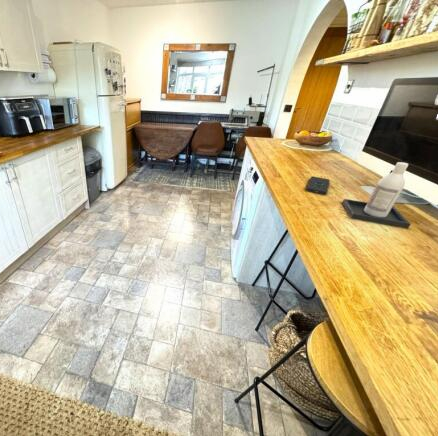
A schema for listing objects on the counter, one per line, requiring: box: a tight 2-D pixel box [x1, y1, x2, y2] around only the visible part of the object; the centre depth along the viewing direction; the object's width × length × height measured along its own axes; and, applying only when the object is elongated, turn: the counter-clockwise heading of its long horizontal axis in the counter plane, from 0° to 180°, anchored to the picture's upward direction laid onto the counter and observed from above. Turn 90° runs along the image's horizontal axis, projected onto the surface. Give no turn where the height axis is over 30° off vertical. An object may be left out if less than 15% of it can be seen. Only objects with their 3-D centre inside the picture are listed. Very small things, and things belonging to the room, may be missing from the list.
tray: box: [341, 198, 412, 229], centre depth 92 cm, size 17×15×2 cm
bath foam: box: [364, 161, 409, 218], centre depth 87 cm, size 7×7×20 cm
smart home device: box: [305, 175, 331, 196], centre depth 116 cm, size 8×2×20 cm
